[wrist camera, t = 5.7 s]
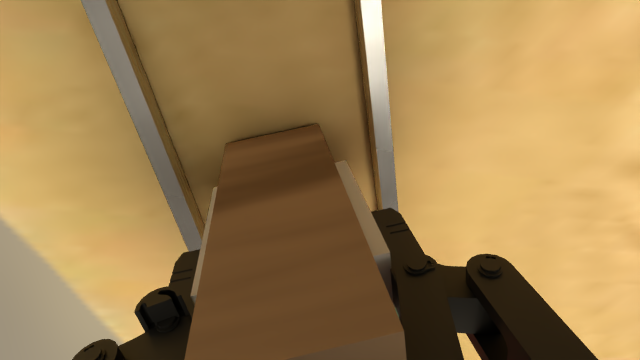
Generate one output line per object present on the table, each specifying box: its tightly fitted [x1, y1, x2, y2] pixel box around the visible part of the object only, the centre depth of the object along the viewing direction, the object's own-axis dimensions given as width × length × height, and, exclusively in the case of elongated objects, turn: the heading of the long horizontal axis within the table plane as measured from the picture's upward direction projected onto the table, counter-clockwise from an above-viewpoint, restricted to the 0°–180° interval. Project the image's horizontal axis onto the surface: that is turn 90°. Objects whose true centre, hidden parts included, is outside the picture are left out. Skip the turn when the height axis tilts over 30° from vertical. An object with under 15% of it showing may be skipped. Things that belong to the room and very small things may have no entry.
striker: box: [184, 124, 407, 360], centre depth 14 cm, size 5×4×12 cm
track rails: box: [81, 0, 398, 251], centre depth 19 cm, size 19×11×1 cm, turn 9°
